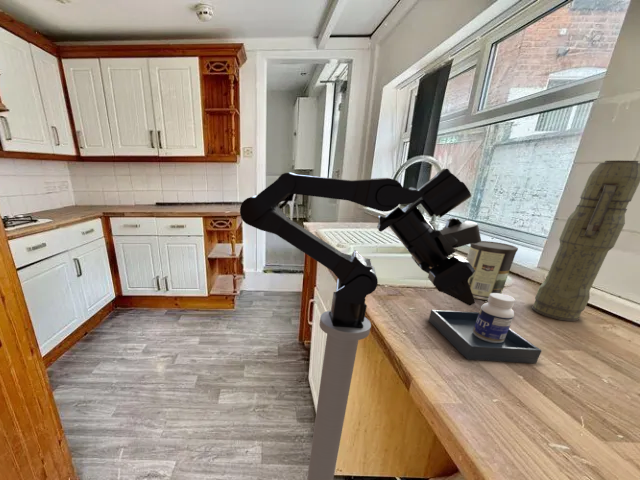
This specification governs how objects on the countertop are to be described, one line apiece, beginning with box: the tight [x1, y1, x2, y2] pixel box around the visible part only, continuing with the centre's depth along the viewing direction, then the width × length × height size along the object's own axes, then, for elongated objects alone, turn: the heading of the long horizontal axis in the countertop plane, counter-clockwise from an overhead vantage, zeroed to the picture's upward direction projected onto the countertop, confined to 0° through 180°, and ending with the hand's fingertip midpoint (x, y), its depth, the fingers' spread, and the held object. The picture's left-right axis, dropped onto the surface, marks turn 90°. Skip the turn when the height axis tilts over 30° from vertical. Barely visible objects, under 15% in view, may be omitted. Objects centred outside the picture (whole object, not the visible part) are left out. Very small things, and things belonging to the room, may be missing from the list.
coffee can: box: [465, 240, 519, 301], centre depth 84 cm, size 10×10×14 cm
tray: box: [428, 309, 543, 364], centre depth 62 cm, size 12×15×3 cm
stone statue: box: [531, 160, 640, 322], centre depth 70 cm, size 9×12×35 cm
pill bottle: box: [473, 293, 516, 343], centre depth 60 cm, size 5×5×9 cm
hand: (463, 294), depth 60 cm, fingers open, 9 cm apart
